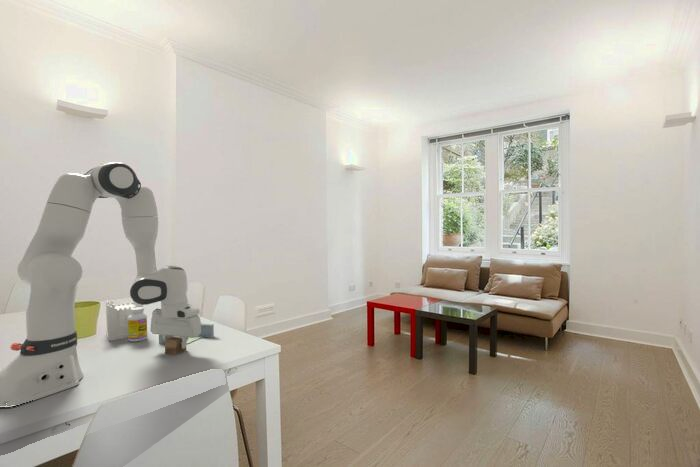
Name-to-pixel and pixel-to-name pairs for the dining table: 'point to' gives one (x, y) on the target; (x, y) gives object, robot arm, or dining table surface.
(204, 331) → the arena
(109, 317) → the castle model
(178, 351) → the walnut cube
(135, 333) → the supplement bottle
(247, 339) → the dining table surface
